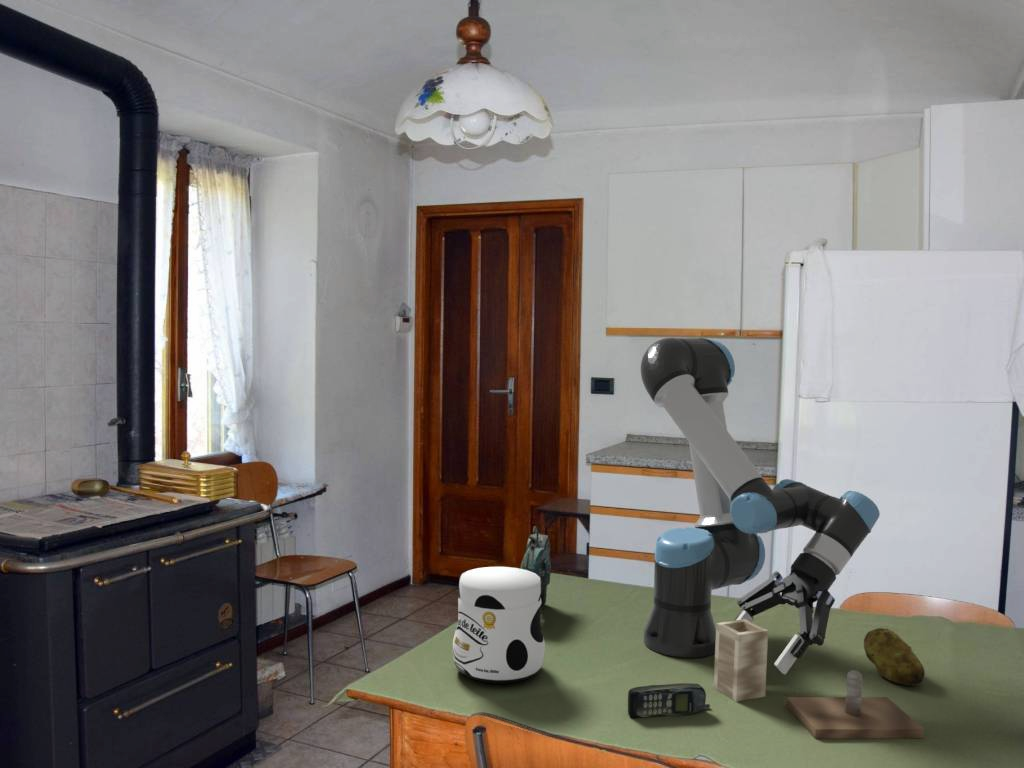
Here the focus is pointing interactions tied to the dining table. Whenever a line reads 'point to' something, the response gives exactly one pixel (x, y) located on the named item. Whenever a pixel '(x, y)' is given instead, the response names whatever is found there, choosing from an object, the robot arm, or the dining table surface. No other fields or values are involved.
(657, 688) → the mobile phone
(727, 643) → the wooden pencil cup
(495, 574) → the doce de leite jar
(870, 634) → the potato
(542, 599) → the green statue
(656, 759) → the dining table surface
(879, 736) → the flat brown rectangular board
